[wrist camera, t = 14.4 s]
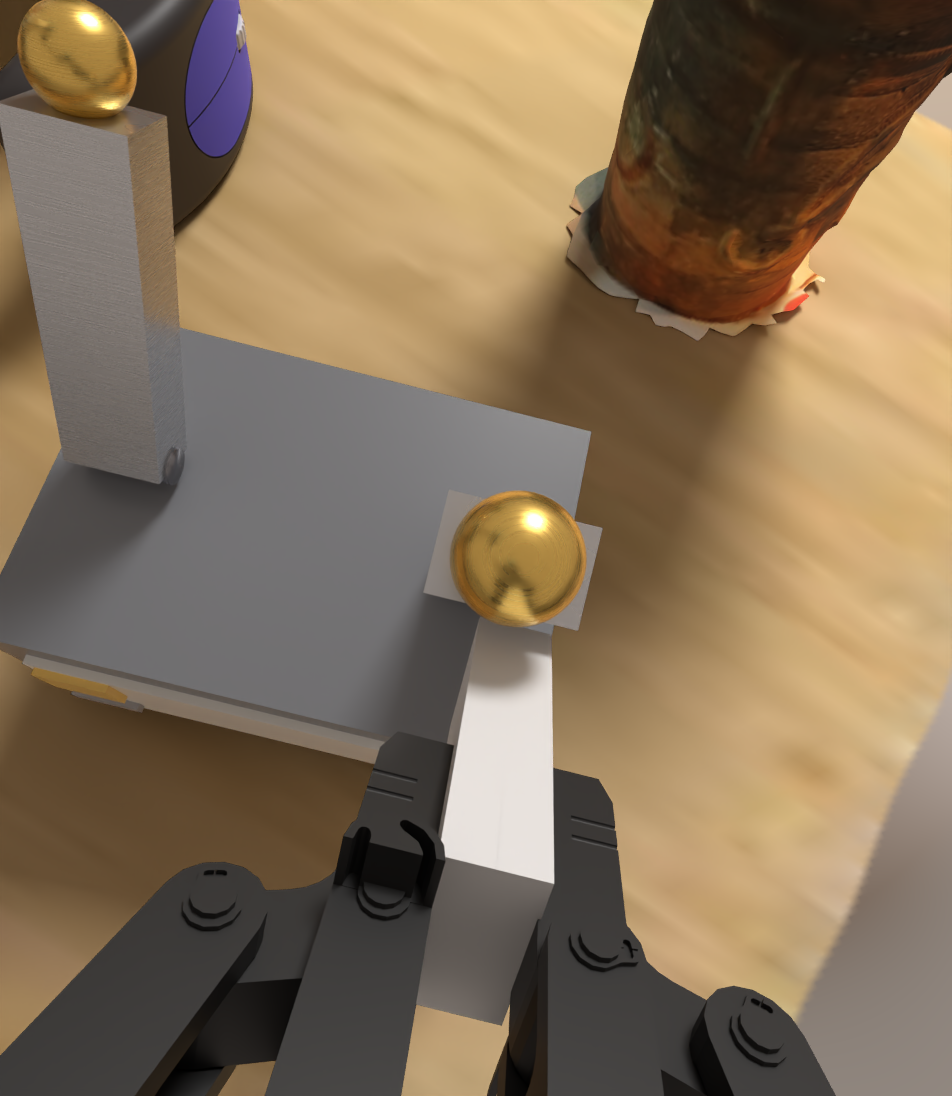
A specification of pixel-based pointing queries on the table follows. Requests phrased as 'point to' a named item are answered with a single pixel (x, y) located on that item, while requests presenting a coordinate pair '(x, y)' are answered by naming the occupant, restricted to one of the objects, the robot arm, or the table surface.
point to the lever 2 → (513, 558)
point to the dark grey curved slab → (182, 85)
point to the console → (276, 554)
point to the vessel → (749, 149)
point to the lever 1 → (98, 242)
